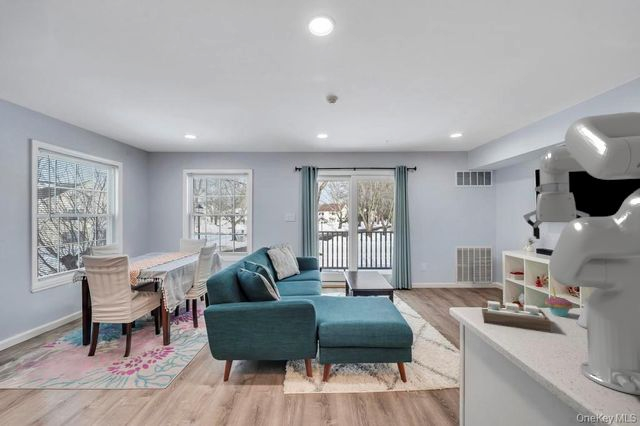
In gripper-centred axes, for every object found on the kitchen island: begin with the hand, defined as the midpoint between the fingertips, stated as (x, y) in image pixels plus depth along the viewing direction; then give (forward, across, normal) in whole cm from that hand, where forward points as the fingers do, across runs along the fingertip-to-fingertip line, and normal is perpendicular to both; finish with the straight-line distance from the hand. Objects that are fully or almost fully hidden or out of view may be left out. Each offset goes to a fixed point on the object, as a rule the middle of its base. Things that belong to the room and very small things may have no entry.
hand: (555, 239), depth 93 cm
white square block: (+30, -18, +9) cm, 36 cm away
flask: (+33, +12, +14) cm, 38 cm away
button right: (+29, -6, +9) cm, 31 cm away
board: (+33, -12, +8) cm, 36 cm away
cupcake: (+34, +6, +26) cm, 43 cm away
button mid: (+30, -12, +9) cm, 33 cm away
